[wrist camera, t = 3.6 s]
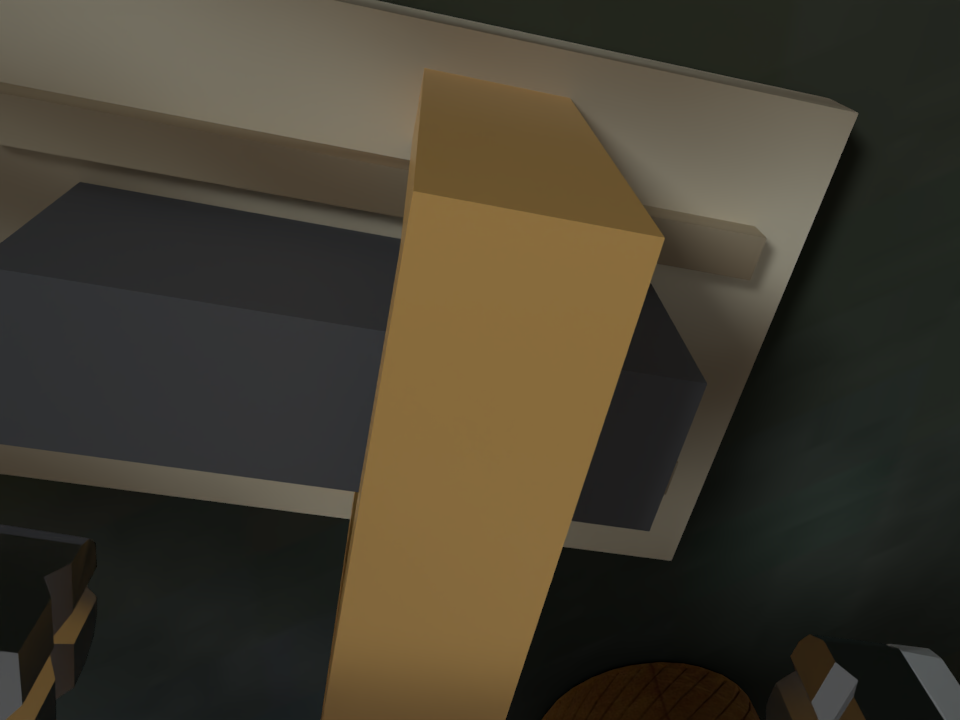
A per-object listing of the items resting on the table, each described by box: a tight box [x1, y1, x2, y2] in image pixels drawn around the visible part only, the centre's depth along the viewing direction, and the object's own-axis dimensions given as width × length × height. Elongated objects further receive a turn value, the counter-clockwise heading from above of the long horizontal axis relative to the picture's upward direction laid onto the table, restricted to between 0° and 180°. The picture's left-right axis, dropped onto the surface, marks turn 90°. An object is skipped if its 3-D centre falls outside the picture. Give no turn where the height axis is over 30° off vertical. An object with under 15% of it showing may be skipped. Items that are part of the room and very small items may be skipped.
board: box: [0, 0, 858, 561], centre depth 15 cm, size 10×15×2 cm, turn 78°
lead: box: [0, 182, 707, 531], centre depth 13 cm, size 3×10×4 cm, turn 78°
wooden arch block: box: [321, 68, 665, 720], centre depth 12 cm, size 9×2×6 cm, turn 168°
